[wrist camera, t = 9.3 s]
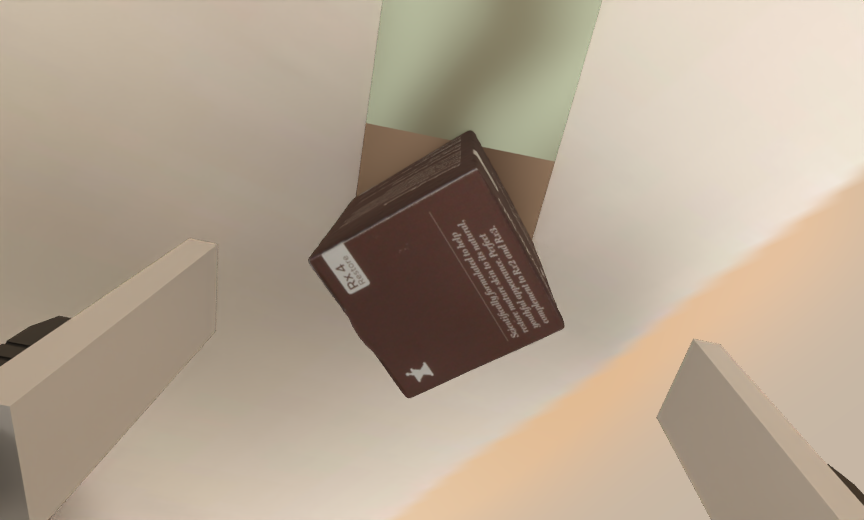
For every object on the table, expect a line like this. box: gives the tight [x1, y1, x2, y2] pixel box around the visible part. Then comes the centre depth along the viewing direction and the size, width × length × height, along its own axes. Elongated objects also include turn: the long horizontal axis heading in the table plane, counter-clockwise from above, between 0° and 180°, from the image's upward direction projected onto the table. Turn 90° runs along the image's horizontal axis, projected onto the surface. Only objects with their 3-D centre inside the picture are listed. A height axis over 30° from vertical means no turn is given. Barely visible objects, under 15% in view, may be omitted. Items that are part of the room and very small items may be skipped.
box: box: [308, 130, 564, 398], centre depth 19 cm, size 6×6×7 cm
